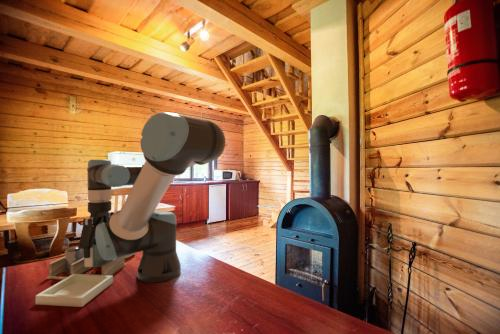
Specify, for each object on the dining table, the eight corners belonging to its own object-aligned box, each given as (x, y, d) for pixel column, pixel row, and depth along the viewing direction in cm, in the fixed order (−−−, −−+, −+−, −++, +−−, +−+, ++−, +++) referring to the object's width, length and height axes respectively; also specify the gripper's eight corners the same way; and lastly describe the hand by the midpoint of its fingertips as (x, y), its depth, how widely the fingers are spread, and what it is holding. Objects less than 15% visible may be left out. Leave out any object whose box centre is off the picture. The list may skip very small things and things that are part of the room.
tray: (112, 282, 83) (112, 275, 83) (81, 306, 69) (81, 298, 69) (73, 280, 84) (73, 273, 84) (35, 304, 70) (35, 295, 70)
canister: (86, 267, 95) (87, 245, 94) (75, 274, 89) (75, 250, 89) (73, 267, 95) (73, 245, 95) (61, 273, 89) (61, 250, 89)
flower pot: (118, 261, 93) (118, 238, 93) (95, 270, 85) (95, 245, 85) (103, 258, 97) (103, 235, 97) (80, 266, 89) (79, 241, 89)
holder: (125, 264, 98) (125, 252, 98) (102, 281, 84) (102, 267, 84) (77, 262, 99) (77, 250, 99) (46, 278, 85) (46, 264, 85)
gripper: (109, 197, 103) (109, 249, 103) (64, 205, 80) (64, 273, 80) (127, 197, 102) (127, 250, 102) (86, 206, 79) (86, 274, 79)
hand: (99, 260), depth 91 cm, fingers closed on flower pot, 10 cm apart
